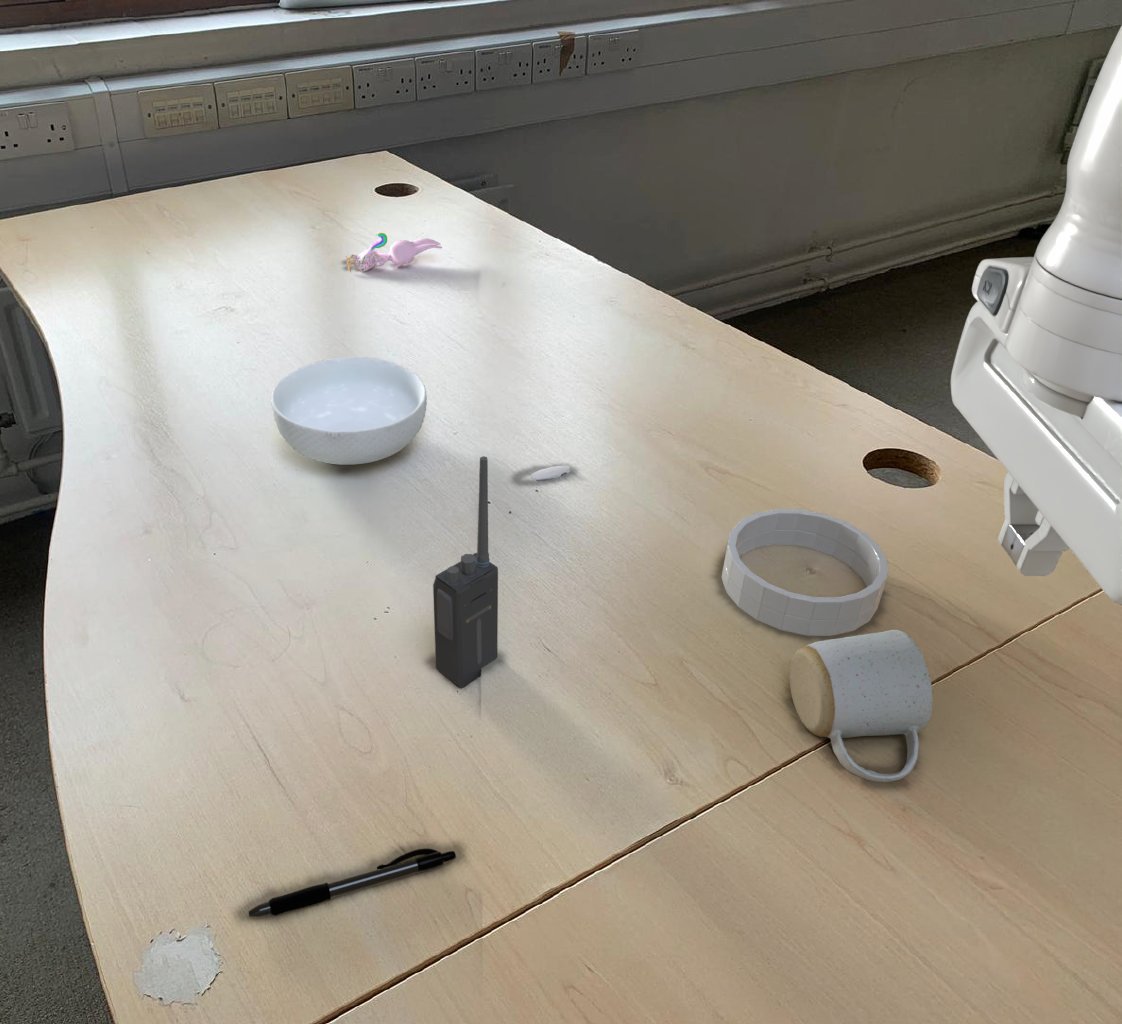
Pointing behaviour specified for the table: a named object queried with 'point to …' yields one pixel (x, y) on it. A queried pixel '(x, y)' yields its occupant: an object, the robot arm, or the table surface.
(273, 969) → the table surface
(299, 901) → the pen
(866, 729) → the ceramic mug
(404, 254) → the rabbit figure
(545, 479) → the white elongated flat piece
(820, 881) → the table surface
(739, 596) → the gray band ring
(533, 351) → the table surface
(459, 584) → the walkie-talkie
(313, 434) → the cereal bowl
